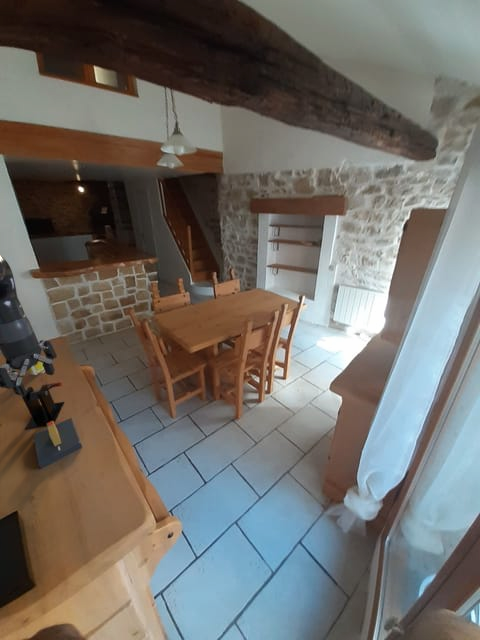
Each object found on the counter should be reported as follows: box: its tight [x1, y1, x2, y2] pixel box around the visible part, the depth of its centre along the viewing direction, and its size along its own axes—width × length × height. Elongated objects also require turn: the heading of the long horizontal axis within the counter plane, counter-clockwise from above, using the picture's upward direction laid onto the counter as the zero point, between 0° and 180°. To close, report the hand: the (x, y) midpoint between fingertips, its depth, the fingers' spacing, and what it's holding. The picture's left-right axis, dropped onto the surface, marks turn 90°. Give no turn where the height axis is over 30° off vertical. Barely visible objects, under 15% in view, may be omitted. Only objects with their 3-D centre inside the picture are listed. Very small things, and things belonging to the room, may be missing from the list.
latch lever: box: [29, 381, 63, 400], centre depth 85 cm, size 13×5×2 cm, turn 14°
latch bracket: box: [21, 384, 65, 431], centre depth 82 cm, size 10×8×12 cm
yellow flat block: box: [46, 421, 61, 446], centre depth 73 cm, size 6×2×5 cm, turn 42°
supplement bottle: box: [26, 361, 46, 376], centre depth 103 cm, size 5×5×10 cm
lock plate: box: [32, 417, 83, 470], centre depth 75 cm, size 12×10×3 cm
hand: (37, 383), depth 70 cm, fingers open, 8 cm apart
